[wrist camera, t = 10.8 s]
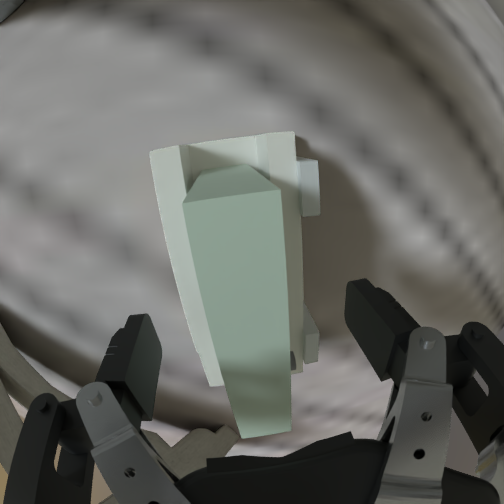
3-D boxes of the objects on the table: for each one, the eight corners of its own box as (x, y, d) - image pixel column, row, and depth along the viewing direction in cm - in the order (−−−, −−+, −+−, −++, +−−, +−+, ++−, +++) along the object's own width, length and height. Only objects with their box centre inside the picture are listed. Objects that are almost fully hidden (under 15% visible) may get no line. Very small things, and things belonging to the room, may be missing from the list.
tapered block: (202, 169, 14) (181, 203, 6) (261, 161, 14) (311, 186, 7) (230, 332, 18) (241, 438, 11) (276, 325, 19) (307, 427, 11)
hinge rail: (153, 151, 14) (125, 156, 10) (289, 133, 15) (320, 130, 10) (197, 343, 20) (194, 393, 15) (300, 327, 20) (319, 374, 16)
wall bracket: (85, 260, 33) (240, 436, 24) (77, 283, 34) (220, 450, 26) (-59, 269, 12) (101, 573, 4) (-56, 298, 13) (93, 566, 5)
